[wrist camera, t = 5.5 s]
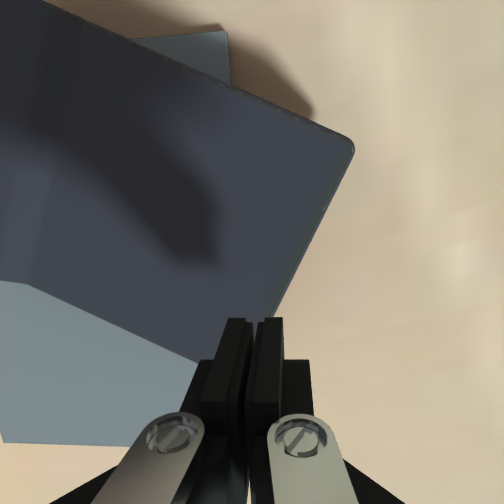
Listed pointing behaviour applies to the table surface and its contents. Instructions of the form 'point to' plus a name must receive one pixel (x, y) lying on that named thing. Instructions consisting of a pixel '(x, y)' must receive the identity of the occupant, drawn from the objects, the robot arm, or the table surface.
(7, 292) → the mat
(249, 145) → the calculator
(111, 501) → the robot arm
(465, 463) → the table surface
